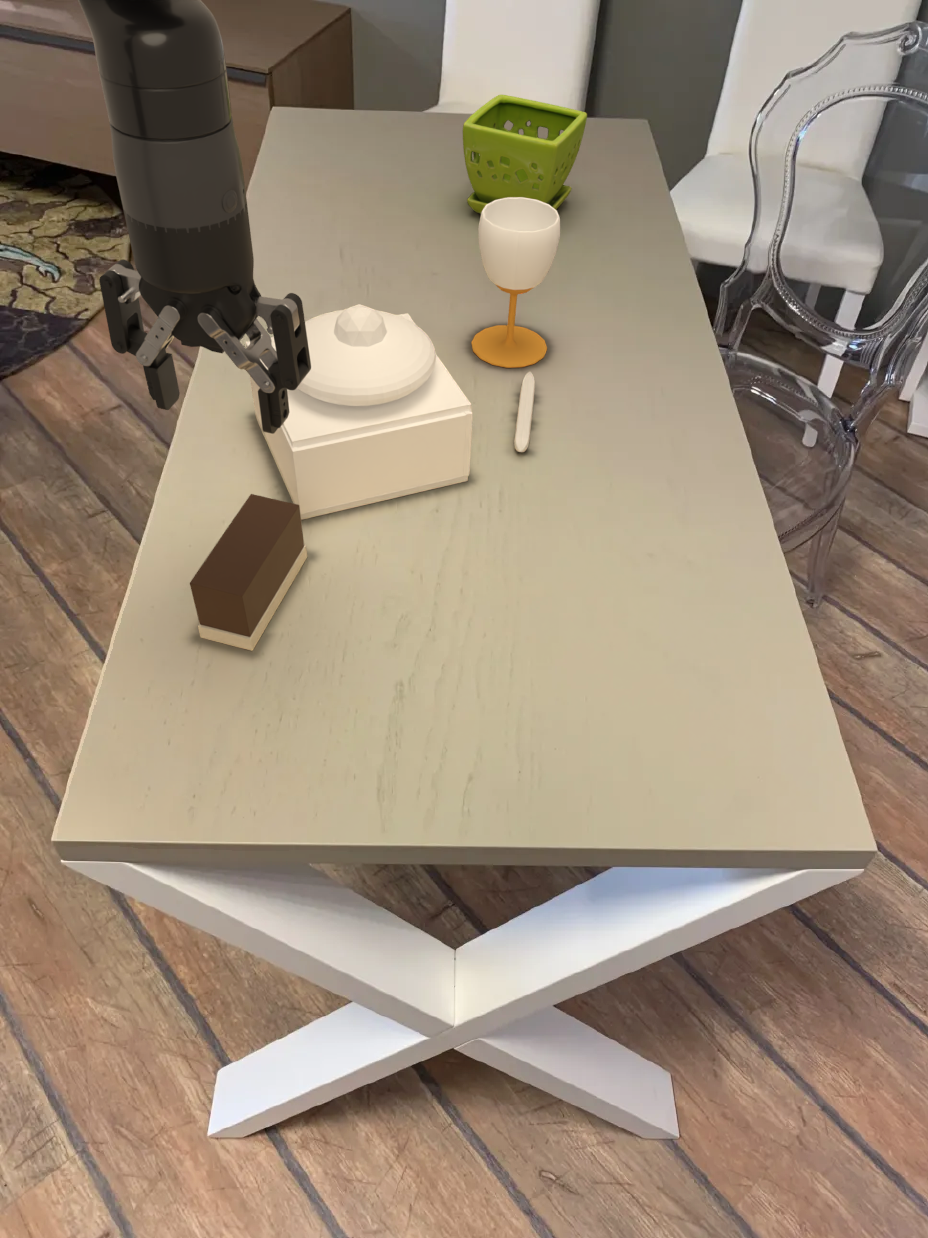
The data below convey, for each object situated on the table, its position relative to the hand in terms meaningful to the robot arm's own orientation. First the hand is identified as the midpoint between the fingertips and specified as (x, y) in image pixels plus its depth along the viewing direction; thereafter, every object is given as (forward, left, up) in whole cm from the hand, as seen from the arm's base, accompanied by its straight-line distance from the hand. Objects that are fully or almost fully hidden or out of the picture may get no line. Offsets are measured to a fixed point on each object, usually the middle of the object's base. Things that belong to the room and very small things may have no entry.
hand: (220, 415), depth 70 cm
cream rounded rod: (+17, +33, -19) cm, 42 cm away
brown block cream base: (+1, -1, -19) cm, 19 cm away
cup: (+12, +46, -19) cm, 51 cm away
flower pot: (+4, +82, -19) cm, 85 cm away
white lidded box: (+2, +22, -19) cm, 29 cm away
